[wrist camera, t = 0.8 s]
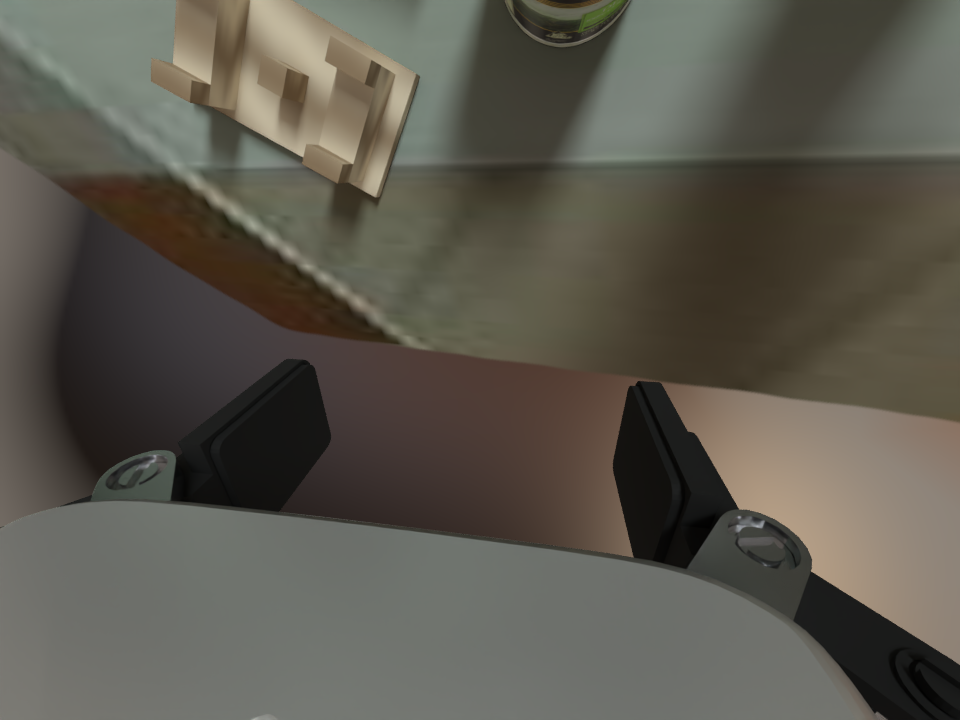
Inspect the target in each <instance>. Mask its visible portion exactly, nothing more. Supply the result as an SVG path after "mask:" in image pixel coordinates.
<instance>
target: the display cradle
mask: <svg viewBox="0 0 960 720" xmlns="http://www.w3.org/2000/svg"><path fill="white" fill-rule="evenodd" d="M419 78H420V76H418V75H417V74H416V73H414V72H412V71H411V70H409V69H407V68H405V67H404V66H402V65H400V64H399V63H397V62H395V61H394V60H392V59H390V58H389V57H387V56H385V55H384V54H382V53H380V52H379V51H377V50H375V49H373V48H372V47H370V46H368V45H367V44H365V43H363V42H362V41H360V40H358V39H357V38H355V37H353V36H352V35H350V34H348V33H347V32H345V31H343V30H342V29H340V28H338V27H336V26H335V25H333V24H331V23H330V22H328V21H326V20H325V19H323V18H321V17H320V16H318V15H316V14H315V13H313V12H311V11H310V10H308V9H306V8H305V7H303V6H301V5H299V4H298V3H296V2H294V1H293V0H176V18H175V37H174V56H173V64H172V63H168V62H164V61H161V60H157V59H153V58H152V63H151V81H152V82H153V83H155V84H157V85H159V86H161V87H163V88H164V89H166V90H168V91H170V92H172V93H173V94H175V95H177V96H179V97H181V98H183V99H184V100H186V101H188V102H190V103H196V104H201V105H207V106H210V107H212V108H214V109H216V110H218V111H220V112H221V113H223V114H225V115H227V116H229V117H230V118H232V119H234V120H236V121H238V122H240V123H241V124H243V125H245V126H247V127H249V128H250V129H252V130H254V131H256V132H258V133H259V134H261V135H263V136H265V137H267V138H269V139H270V140H272V141H274V142H276V143H278V144H279V145H281V146H283V147H285V148H287V149H289V150H290V151H292V152H294V153H296V154H298V155H299V156H301V157H303V161H302V164H303V165H305V166H306V167H308V168H310V169H312V170H314V171H316V172H317V173H319V174H321V175H323V176H325V177H326V178H328V179H330V180H332V181H334V182H336V183H337V184H339V183H350V184H352V185H354V186H356V187H357V188H359V189H361V190H363V191H365V192H367V193H368V194H370V195H372V196H374V197H380V195H381V192H382V189H383V186H384V183H385V180H386V177H387V174H388V171H389V168H390V165H391V162H392V159H393V156H394V153H395V150H396V147H397V144H398V141H399V138H400V135H401V132H402V129H403V126H404V123H405V120H406V117H407V114H408V111H409V108H410V105H411V102H412V99H413V96H414V93H415V90H416V87H417V84H418V81H419Z"/></svg>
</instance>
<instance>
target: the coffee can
mask: <svg viewBox="0 0 960 720" xmlns="http://www.w3.org/2000/svg"><path fill="white" fill-rule="evenodd" d="M504 1H505V4H506V6H507V8H508V10H509V12H510V14H511V16H512V18H513V19H514V21H515V22H516V23H517V24H518V25H519V27H520V28H521V29H522V30H523V31H524V32H525V33H526V34H527V35H529V36H530V37H531V38H533V39H534V40H536V41H538V42H541V43H543V44H545V45H549V46H554V47H570V46H575V45H579V44H582V43H584V42H587V41H589V40H591V39H593V38H594V37H596V36H598V35H599V34H601V33H602V32H603V31H605V30H606V29H607V28H608V27H610V26H611V25H612V24H613V23H614V22H615V21H616V20H617V18H618V17H619V16H620V15H621V14H622V12H623V11H624V10H625V8H626V7H627V5H628V4H629V2H630V1H631V0H504Z"/></svg>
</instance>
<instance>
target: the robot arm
mask: <svg viewBox="0 0 960 720" xmlns="http://www.w3.org/2000/svg"><path fill="white" fill-rule="evenodd" d="M330 440H331V433H330V429H329V425H328V421H327V417H326V413H325V408H324V404H323V400H322V396H321V392H320V388H319V384H318V380H317V375H316V371H315V368H314V367H313V366H312V365H310V363H309V362H308V361H306V360H297V359H286V360H284V361H283V362H282V363H280V364H279V365H278V366H276V367H275V368H274V369H272V370H271V371H270V372H269V373H267V374H266V375H265V376H263V377H262V378H261V379H259V380H258V381H257V382H256V383H254V384H253V385H252V386H250V387H249V388H248V389H247V390H245V391H244V392H243V393H241V394H240V395H239V396H237V397H236V398H235V399H234V400H232V401H231V402H230V403H228V404H227V405H226V406H225V407H223V408H222V409H221V410H219V411H218V412H217V413H216V414H214V415H213V416H212V417H210V418H209V419H208V420H206V421H205V422H204V423H203V424H201V425H200V426H199V427H197V428H196V429H195V430H194V431H192V432H191V433H190V434H188V435H187V436H186V437H184V438H183V439H182V440H181V441H179V442H178V444H179V446H180V448H181V450H182V452H183V453H182V454H181V455H180V456H178V457H177V458H176V456H175V455H174V454H173V453H172V452H170V451H163V450H161V451H151V452H147V453H142V454H139V455H137V456H134V457H131V458H129V459H127V460H125V461H123V462H121V463H119V464H117V465H116V466H114V467H113V468H111V469H110V470H108V471H107V472H106V473H105V474H104V475H103V476H102V477H101V478H100V480H99V481H98V483H97V484H96V487H95V490H94V492H93V495H91V496H88V497H85V498H82V499H79V500H77V501H74V502H71V503H68V504H65V505H63V506H60V507H57V508H53V509H49V510H45V511H42V512H39V513H36V514H32V515H29V516H26V517H23V518H21V519H18V520H16V521H14V522H12V523H9V524H8V525H6V526H3V527H0V720H960V665H959V664H957V663H956V662H954V661H953V660H952V659H950V658H948V657H947V656H945V655H943V654H942V653H940V652H939V651H937V650H936V649H934V648H932V647H931V646H929V645H928V644H926V643H924V642H923V641H921V640H920V639H918V638H916V637H915V636H913V635H912V634H910V633H908V632H907V631H905V630H904V629H902V628H900V627H899V626H897V625H896V624H894V623H892V622H891V621H889V620H888V619H886V618H884V617H882V616H881V615H880V614H878V613H876V612H875V611H873V610H872V609H870V608H868V607H867V606H865V605H864V604H862V603H860V602H859V601H857V600H856V599H854V598H853V597H851V596H849V595H848V594H846V593H844V592H843V591H841V590H839V589H838V588H837V587H835V586H833V585H832V584H830V583H829V582H827V581H825V580H824V579H822V578H821V577H819V576H817V575H816V574H814V573H813V572H811V569H812V559H811V556H810V553H809V551H808V549H807V547H806V546H805V545H804V543H803V542H802V541H801V540H800V538H799V537H798V536H797V535H795V534H794V533H793V532H792V531H791V530H790V529H788V528H787V527H786V526H784V525H782V524H781V523H779V522H778V521H776V520H775V519H773V518H770V517H768V516H766V515H763V514H761V513H758V512H754V511H750V510H739V508H738V507H737V505H736V503H735V501H734V500H733V498H732V496H731V495H730V493H729V491H728V489H727V488H726V486H725V484H724V482H723V481H722V479H721V477H720V475H719V474H718V472H717V470H716V469H715V467H714V465H713V463H712V461H711V460H710V458H709V456H708V455H707V453H706V451H705V449H704V448H703V446H702V444H701V442H700V441H699V439H698V437H697V436H696V435H695V434H694V433H692V432H688V431H687V429H686V428H685V426H684V424H683V422H682V420H681V418H680V417H679V415H678V413H677V411H676V409H675V407H674V406H673V404H672V402H671V400H670V398H669V397H668V395H667V393H666V391H665V389H664V388H663V386H662V384H661V383H659V382H644V381H638V382H637V383H636V386H630V387H629V389H628V392H627V397H626V402H625V407H624V411H623V416H622V421H621V426H620V431H619V435H618V440H617V445H616V450H615V455H614V460H613V471H614V476H615V480H616V485H617V489H618V493H619V498H620V502H621V506H622V510H623V514H624V518H625V523H626V527H627V531H628V535H629V540H630V543H631V548H632V552H633V556H634V558H632V557H627V556H621V555H615V554H610V553H603V552H596V551H589V550H582V549H574V548H567V547H560V546H553V545H546V544H538V543H530V542H522V541H515V540H506V539H498V538H490V537H483V536H474V535H466V534H459V533H451V532H443V531H434V530H427V529H419V528H410V527H401V526H394V525H386V524H377V523H369V522H360V521H352V520H344V519H335V518H327V517H319V516H310V515H301V514H292V513H284V512H279V511H280V510H281V508H282V507H283V506H284V504H285V503H286V502H287V500H288V499H289V498H290V496H291V495H292V494H293V492H294V491H295V490H296V488H297V487H298V486H299V484H300V483H301V482H302V480H303V479H304V478H305V476H306V475H307V474H308V472H309V471H310V470H311V468H312V467H313V466H314V464H315V463H316V462H317V460H318V459H319V458H320V456H321V455H322V454H323V452H324V451H325V450H326V448H327V447H328V445H329V443H330Z"/></svg>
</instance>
